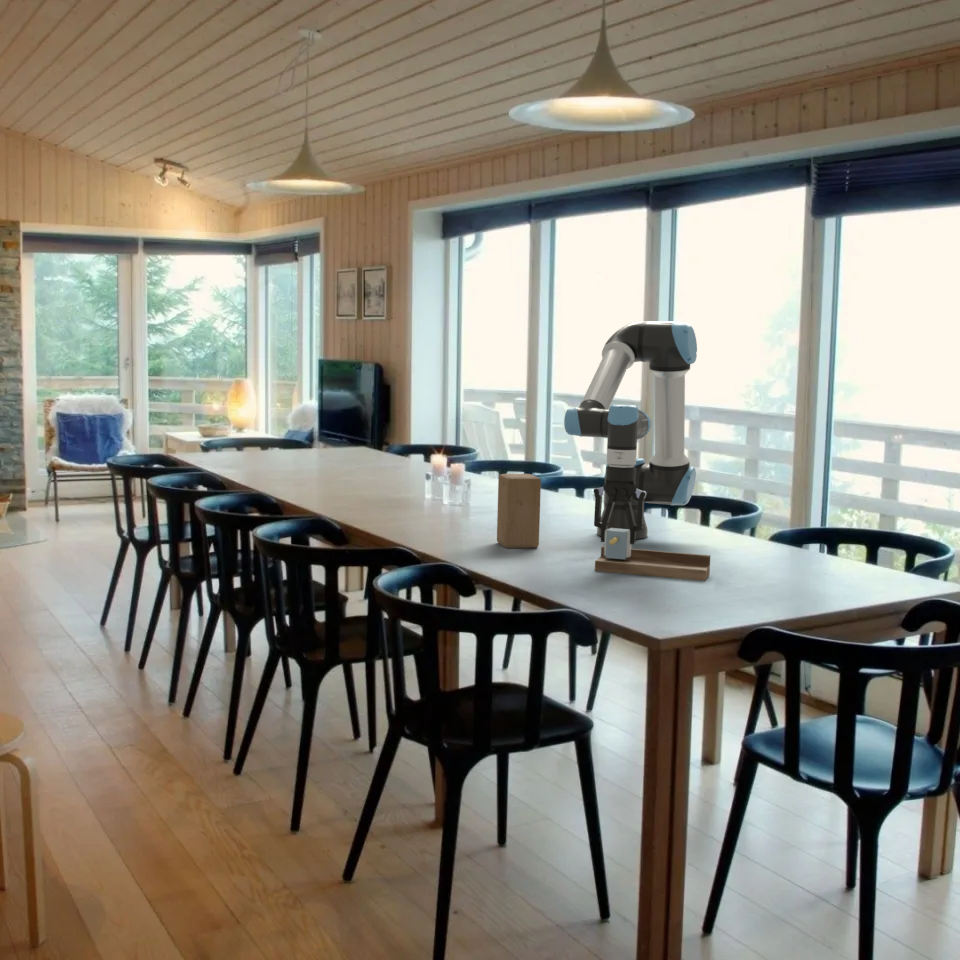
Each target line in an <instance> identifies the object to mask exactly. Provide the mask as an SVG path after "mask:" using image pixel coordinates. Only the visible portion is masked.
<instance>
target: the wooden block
mask: <svg viewBox="0 0 960 960" xmlns="http://www.w3.org/2000/svg"><path fill="white" fill-rule="evenodd" d="M498 475H499V476H498V481H497V482H498V483H497V488H498V489H497V517H496V518H497V520H496V521H497V523H496V542H497V543H498V544H500V545H501V546H502V547H504V548H505V549H534V548H538V547H539V545H540V520H541V519H540V517H541V515H540V514H541V495H542V494H541V492H542V491H541V490H542V488H541V487H542V482H541V481H542V480H541V478H540V477H538V476H535V475H533V474H530V473H501V474H498Z"/></svg>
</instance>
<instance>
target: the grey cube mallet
mask: <svg viewBox="0 0 960 960" xmlns="http://www.w3.org/2000/svg"><path fill="white" fill-rule="evenodd" d="M628 531H630V529H618V528H610V529H609V530H607V536H606V558H614V559H626V558H627V557H626V546H627V532H628Z"/></svg>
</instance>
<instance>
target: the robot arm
mask: <svg viewBox="0 0 960 960" xmlns="http://www.w3.org/2000/svg"><path fill="white" fill-rule="evenodd" d="M696 337H697V336H696V333H695V330H694V328H693V326H692V325H691V324H690V323H688V322H682V321H677V320H676V321H675V320H673V321H670V320H669V321H666V320H665V321H664V320H662V321H661V320H658V321H656V320H655V321H653V320H652V321H650V320H648V321H647V320H646V321H645V320H638V321H633V322H630V323H628V324H626V325H624V326H622V327H621V328H619V329H618V330H616V331H615V332H614V333H613V334H612V335H611V336H610V337H609V338H608V340H607V341H606V342H605V344H604V346H603V348H602V352H601V357H602V358H601V360H600V363H599V364H598V367H597V369H596V371H595V373H594V376H593V378H592V379H591V382H590V384H589V385H588V387H587V389H586V392H585V394H584V397H583V398H582V401H581V402H580V405H579V406H578V407H577V406H574V407H569V408H567V409H566V410H565V414H564V419H563V421H564V422H563V424H564V425H563V426H564V430H565V432H566V433H567V434H568V435H570V436H575V437H576V436H577V437H578V436H579V437H582V438H583V437H585V438H589V437H590V438H606V440H607V444H606V445H607V446H606V465H605V473H604V484H603V486H601V487H595V488H594V489H593V494H594V499H595V502H594V519H593V521H594V522H593V525H594V527H596V534H597V536H599V537H600V542H601V543H604V545H603V546H604V555H606V536H607V530H609V529H610V528H618V529H630V531H628V532H627V546H626V557H630V556H631V549H632V545H635V544H636V542H637V541H636V540H640V539H645V538H647V537H648V534H649V533H648V532H649V531H648V525H647V522H646V518H645V503H646V504H647V503H648V504H658V505H669V506H685V505H687V504H688V503H689V502H690V499H692V495H693V492H694V487H695V483H696V475H697V471H696V470H697V469H696V467H694V466H692V465H691V464H690V463H691V461H690V458H689V457H688V456H687V455H686V454H685V427H686V426H685V423H686V422H685V420H686V419H685V414H686V413H685V411H686V410H685V405H686V404H685V403H686V402H685V401H686V399H685V398H686V397H685V396H686V395H685V394H686V391H685V390H686V388H685V387H686V379H685V378H686V377H685V376H686V374H687V373H688V372H689V370H691V365H692V364H695V363H696V361H697V352H698V345H697V344H698V343H697V342H698V341H697V338H696ZM638 362H639V363H640V362H641V363H642V362H643V363H649V365H648V368H649V371H650V372H651V373H652V374H653V375H654V455H653V456H651V458H649V463H646V461H645V458H643V457H641V458H640V457H638V456H637V455H638V454H637V453H638V448H637V447H638V440H639V439H642V438H644V437H645V436H647V434H649V432H650V430H651V428H652V420H651V418H650V416H649V414H648V413H647V412H645V411H644V410H641V409H639V407H638V406H636V405H635V404H621V403H620V404H617V403H616V404H612V402H613V400H614V398H615V396H616V394H617V391H618V389H619V387H620V385H621V383H622V380H623V378H624V376H625V375H626V374H625V373H626V372H627V370H628V369H630V368H631V367H632V366H633V365H634V363H638ZM637 457H638V458H637ZM602 503H603V510H602Z"/></svg>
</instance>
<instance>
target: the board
mask: <svg viewBox="0 0 960 960" xmlns="http://www.w3.org/2000/svg"><path fill="white" fill-rule="evenodd" d="M594 571H595V572H604V573H617V574H628V575H637V576H651V577H661V578H671V579H672V578H673V579H683V580H694V581H703V582H704V581H706V580H707V579H708V578H709V576H710V571H711V554H698V553H689V552H676V551H667V550H666V551H664V550H651V549H642V548H641V549H640V548H631V556H630V557H627V558H626V559H614V558H606V555H604V545H602V546H600V557H598V558H597V559H596V560H595V561H594Z"/></svg>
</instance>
